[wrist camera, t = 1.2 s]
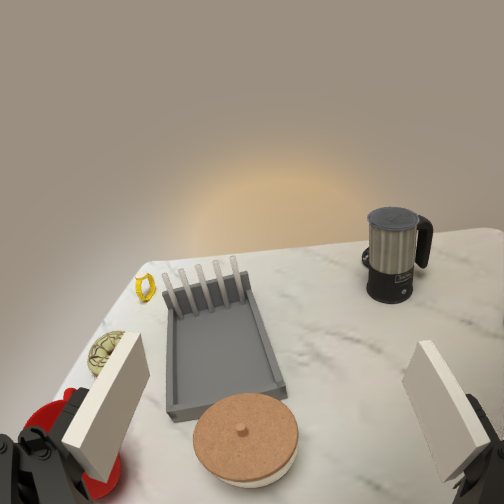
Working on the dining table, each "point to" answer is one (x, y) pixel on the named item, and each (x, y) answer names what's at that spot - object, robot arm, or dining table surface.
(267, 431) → the lidded jar
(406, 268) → the milk frother
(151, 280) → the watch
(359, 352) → the dining table surface
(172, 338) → the dish rack
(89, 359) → the decorated donut
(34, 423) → the ceramic cup
